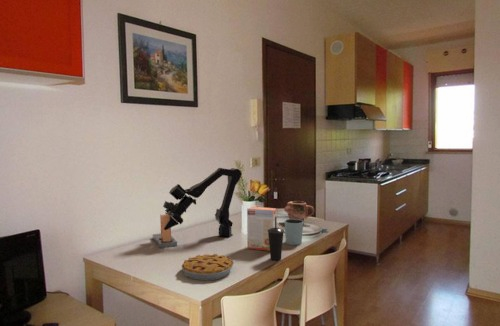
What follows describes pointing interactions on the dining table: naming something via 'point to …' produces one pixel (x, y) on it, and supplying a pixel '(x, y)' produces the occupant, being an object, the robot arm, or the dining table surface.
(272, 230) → the drinking cup
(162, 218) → the clip
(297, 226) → the blue gray cylindrical container
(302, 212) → the brown teapot
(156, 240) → the gray slotted base
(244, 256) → the dining table surface
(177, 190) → the robot arm
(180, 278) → the dining table surface
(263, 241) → the cracker box
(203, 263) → the pie
